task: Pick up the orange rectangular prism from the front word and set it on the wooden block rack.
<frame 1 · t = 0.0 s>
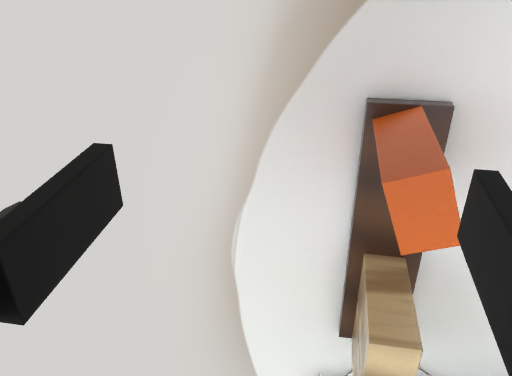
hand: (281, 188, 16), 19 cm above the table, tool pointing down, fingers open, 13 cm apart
orange rectangular prism: (403, 143, 33), point 1 cm above the table, touching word
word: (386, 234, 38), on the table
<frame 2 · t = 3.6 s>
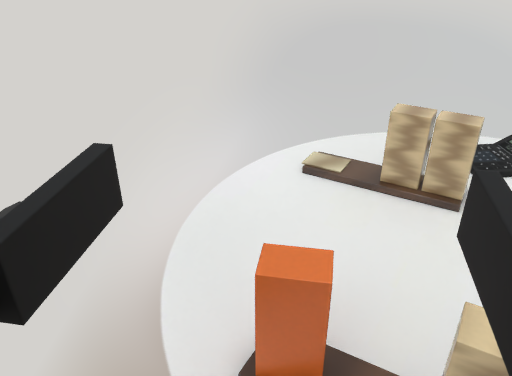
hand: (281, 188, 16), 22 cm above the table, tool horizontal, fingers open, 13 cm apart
orange rectangular prism: (290, 361, 35), point 1 cm above the table, touching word
wooden block rack: (380, 181, 63), on the table
calculator: (497, 163, 68), on the table
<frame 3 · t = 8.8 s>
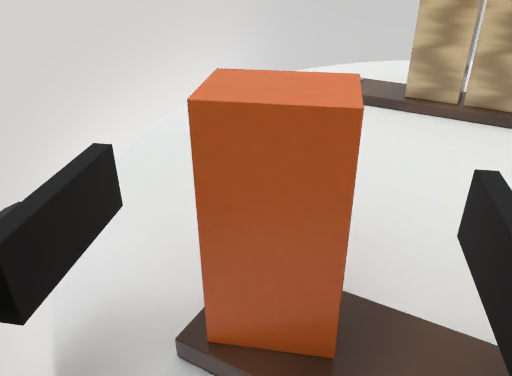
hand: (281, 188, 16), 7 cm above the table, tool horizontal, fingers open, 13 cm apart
orange rectangular prism: (275, 317, 19), point 1 cm above the table, touching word
wooden block rack: (404, 101, 47), on the table
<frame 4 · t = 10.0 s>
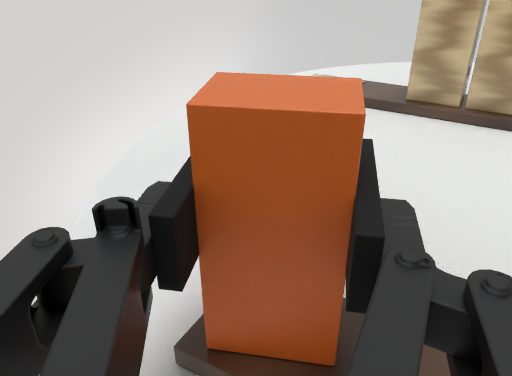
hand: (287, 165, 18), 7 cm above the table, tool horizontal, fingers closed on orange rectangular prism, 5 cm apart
orange rectangular prism: (275, 323, 19), point 1 cm above the table, touching gripper
wooden block rack: (405, 103, 46), on the table
when the fingers open (7 cm above the table, at t = 22.3 s): orange rectangular prism stays where it is, resting on wooden block rack.
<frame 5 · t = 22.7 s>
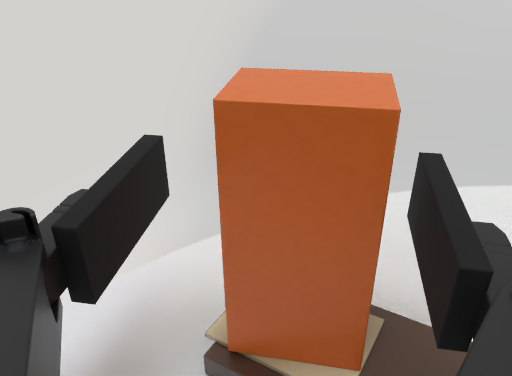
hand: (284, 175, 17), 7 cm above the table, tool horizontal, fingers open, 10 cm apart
orange rectangular prism: (297, 326, 18), point 1 cm above the table, touching wooden block rack
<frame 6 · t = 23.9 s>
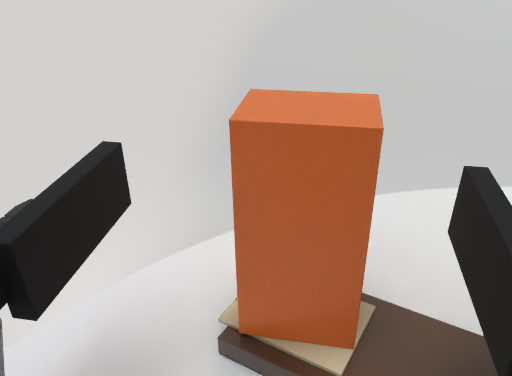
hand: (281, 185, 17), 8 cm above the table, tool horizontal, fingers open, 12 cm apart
orange rectangular prism: (299, 312, 21), point 1 cm above the table, touching wooden block rack
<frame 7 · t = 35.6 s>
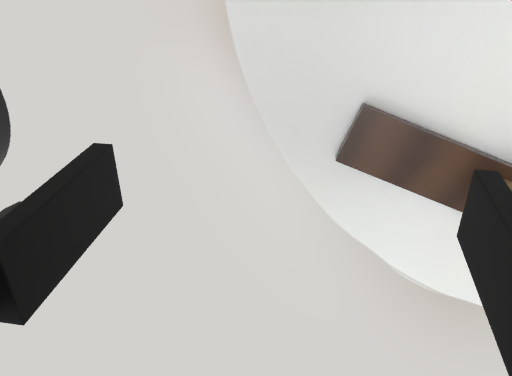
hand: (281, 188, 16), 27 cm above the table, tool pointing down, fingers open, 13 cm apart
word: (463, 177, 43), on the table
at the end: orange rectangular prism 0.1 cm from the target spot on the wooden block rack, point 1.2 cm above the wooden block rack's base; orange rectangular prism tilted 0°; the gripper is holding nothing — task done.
